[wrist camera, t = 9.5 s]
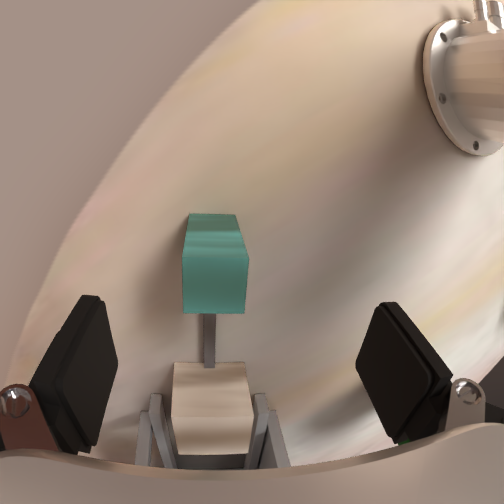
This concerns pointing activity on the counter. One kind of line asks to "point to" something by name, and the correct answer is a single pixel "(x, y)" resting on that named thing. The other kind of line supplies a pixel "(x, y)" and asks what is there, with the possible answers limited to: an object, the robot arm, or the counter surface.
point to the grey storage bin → (258, 457)
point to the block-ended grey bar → (212, 342)
